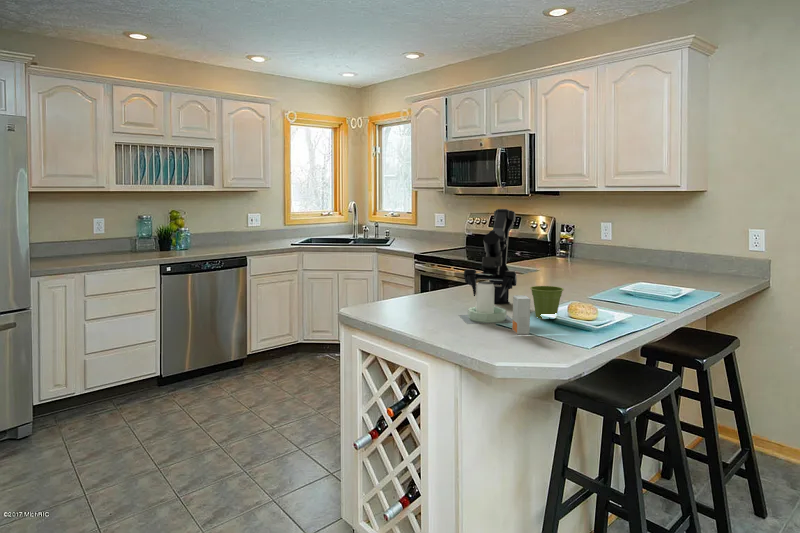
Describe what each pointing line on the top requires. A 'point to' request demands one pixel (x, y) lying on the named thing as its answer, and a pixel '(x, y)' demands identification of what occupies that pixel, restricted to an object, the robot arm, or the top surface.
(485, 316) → the bowl
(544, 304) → the plant pot
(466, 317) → the slate mat
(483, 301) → the can
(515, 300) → the skincare box
